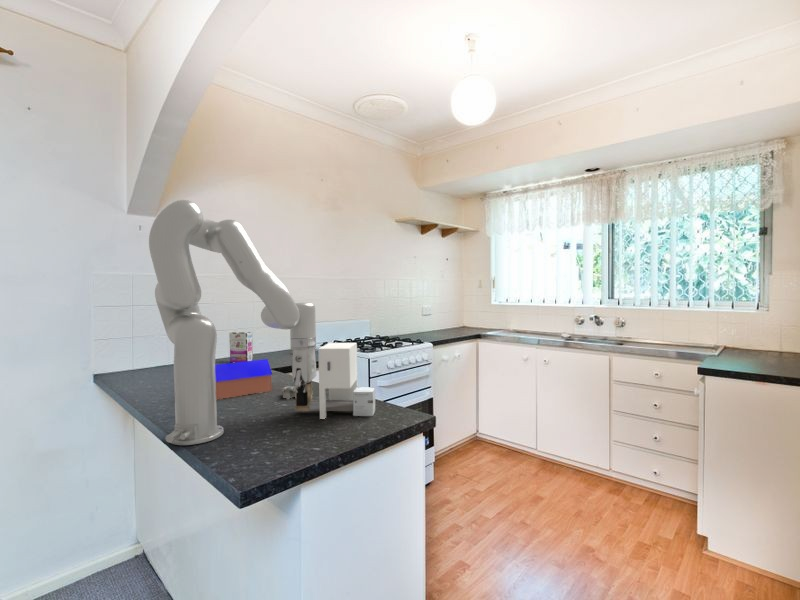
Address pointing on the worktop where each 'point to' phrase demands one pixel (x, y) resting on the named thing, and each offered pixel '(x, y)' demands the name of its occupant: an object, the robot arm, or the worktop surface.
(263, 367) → the house
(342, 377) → the cabinet
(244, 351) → the candy bar box
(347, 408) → the push stick
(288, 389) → the egg carton
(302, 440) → the worktop surface
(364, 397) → the skincare box
